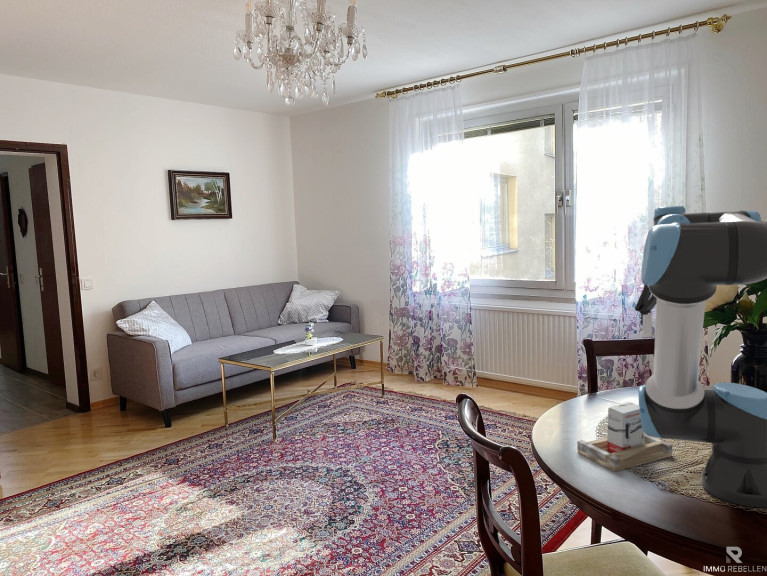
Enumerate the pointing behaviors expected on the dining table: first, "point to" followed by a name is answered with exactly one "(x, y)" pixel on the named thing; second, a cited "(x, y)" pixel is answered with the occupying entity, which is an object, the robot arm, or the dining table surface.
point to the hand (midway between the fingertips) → (667, 341)
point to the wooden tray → (625, 453)
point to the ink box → (624, 427)
